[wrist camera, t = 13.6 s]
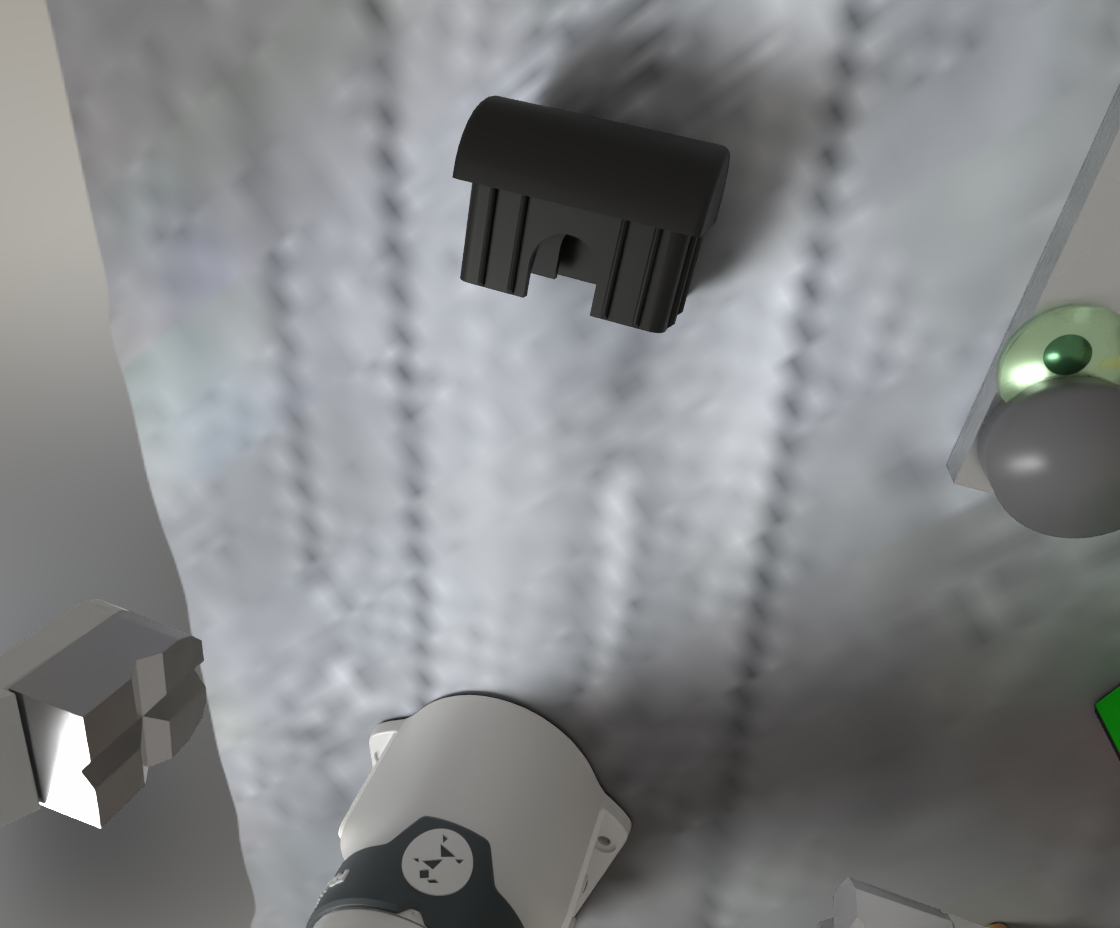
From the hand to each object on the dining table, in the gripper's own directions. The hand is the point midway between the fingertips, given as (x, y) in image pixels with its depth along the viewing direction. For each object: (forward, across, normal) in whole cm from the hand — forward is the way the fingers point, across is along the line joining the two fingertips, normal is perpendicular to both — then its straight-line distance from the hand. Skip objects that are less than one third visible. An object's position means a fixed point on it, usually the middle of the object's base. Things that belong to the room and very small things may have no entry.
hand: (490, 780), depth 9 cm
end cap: (+29, +6, -3) cm, 30 cm away
